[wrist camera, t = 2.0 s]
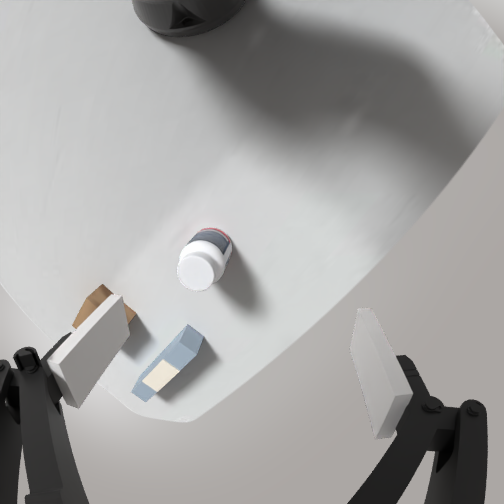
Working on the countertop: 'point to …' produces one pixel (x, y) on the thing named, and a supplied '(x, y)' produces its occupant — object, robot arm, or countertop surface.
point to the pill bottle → (204, 259)
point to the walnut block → (94, 302)
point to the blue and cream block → (168, 363)
